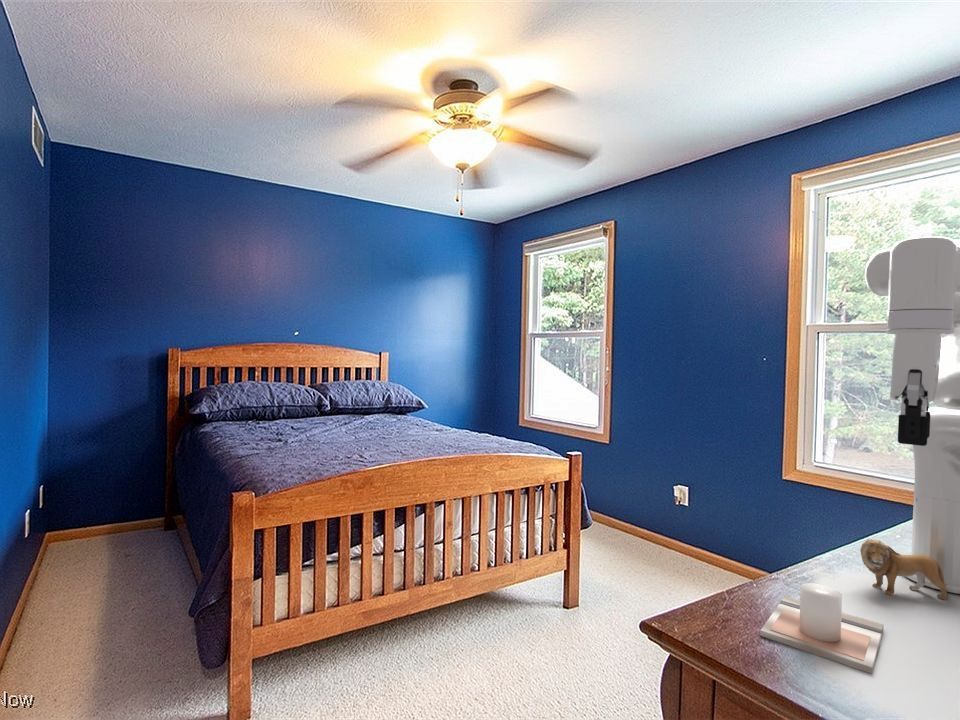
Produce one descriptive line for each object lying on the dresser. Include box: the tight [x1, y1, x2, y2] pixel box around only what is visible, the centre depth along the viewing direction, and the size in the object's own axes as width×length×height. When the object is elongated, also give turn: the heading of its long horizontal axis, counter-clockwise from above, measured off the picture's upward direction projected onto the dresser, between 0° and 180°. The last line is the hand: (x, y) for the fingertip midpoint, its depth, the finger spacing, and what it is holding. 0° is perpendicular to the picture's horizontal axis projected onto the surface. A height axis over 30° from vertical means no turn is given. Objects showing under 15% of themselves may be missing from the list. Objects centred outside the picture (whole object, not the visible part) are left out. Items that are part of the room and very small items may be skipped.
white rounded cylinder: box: [799, 582, 843, 642], centre depth 77 cm, size 5×5×6 cm
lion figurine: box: [860, 538, 949, 601], centre depth 93 cm, size 15×5×9 cm, turn 90°
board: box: [759, 595, 885, 674], centre depth 79 cm, size 15×13×1 cm
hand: (914, 440), depth 79 cm, fingers open, 9 cm apart
